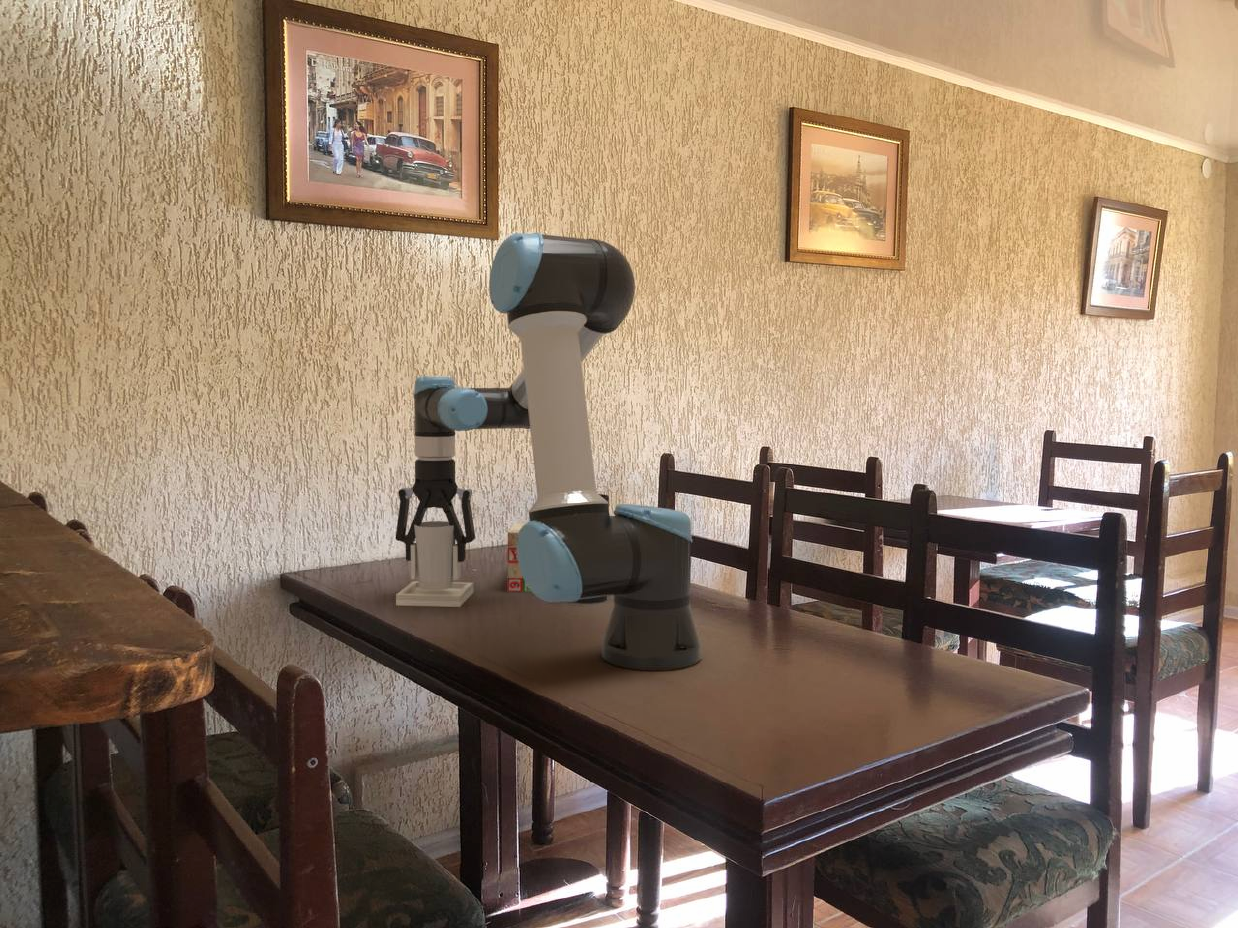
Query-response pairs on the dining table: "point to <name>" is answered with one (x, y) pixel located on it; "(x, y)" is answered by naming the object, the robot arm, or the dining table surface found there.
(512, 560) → the stack of blocks
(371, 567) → the dining table surface
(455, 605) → the cream square tray
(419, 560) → the cup
